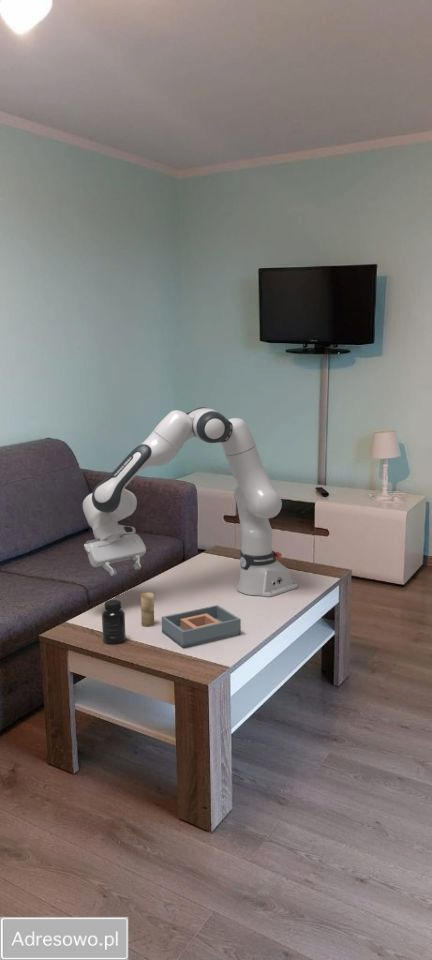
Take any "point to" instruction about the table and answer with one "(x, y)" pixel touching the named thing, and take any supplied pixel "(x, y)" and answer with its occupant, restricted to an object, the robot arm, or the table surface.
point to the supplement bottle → (113, 622)
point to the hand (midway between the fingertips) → (126, 571)
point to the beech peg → (147, 609)
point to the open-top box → (201, 626)
